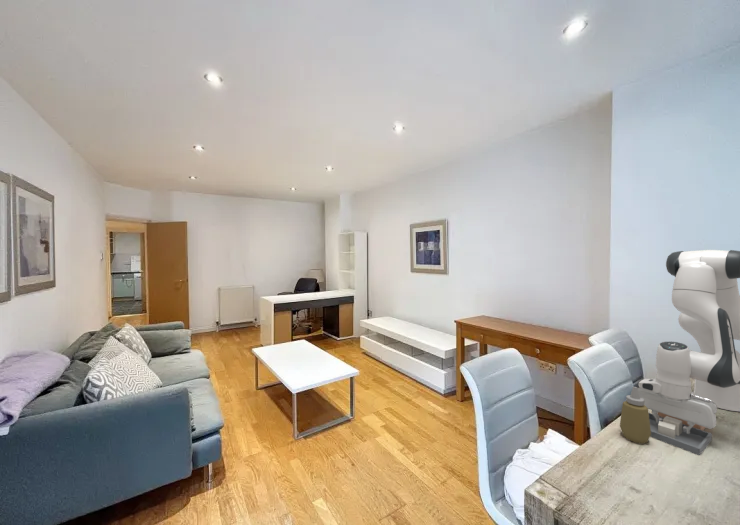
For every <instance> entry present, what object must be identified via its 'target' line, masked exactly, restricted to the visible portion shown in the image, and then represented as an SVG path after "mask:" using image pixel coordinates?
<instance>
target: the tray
mask: <svg viewBox="0 0 740 525" xmlns="http://www.w3.org/2000/svg"><path fill="white" fill-rule="evenodd" d="M659 417H660V416H659ZM660 418H662V419H664V418H663V417H660ZM649 420H650V429H651V436H650V437H649V438H652V439H655V440H658V441H660V442H663V443H665V444H669V445H671V446H673V447H676V448H679V449H682V450H684V451H687V452H690V453H692V454H694V455H697V456H701V455H702V453H703V452H704V451H705V450H706V448H707V447H708V445H709V444H710V443H711V442H712V441H713V433H712V432H708V431H705V430H700V429H697V428H694V427H692V428H691V429H690V434H686V433H683V427H684V426H686V427H688V425H685V424H682V433H681V434H680V435H679V436H677V435H675V439H673V438H671V437H668V436H665V435H662V434H660V433H658V424H657V423H656V418H655V417H654V415H653V414H652V412H649Z"/></svg>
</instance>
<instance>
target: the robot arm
mask: <svg viewBox="0 0 740 525" xmlns="http://www.w3.org/2000/svg"><path fill="white" fill-rule="evenodd" d="M665 261H666V262H665V266H666V271H667V272H668V274H670V275H671V276H674V279H673V280H674V281H673V285H672V289H671V290H672V291H671V303H672V305H673V306H674V308H675V309H676V310H677V311H679V312H680V313H679V315H678V319H677V320H678V324H679V325H680V327H681V329H683V330H684V331H685V332H687V333H688V334H689V335H690V336H692V337H693V338H694V340H695V341H696V342H697V344H698V346H699V349H700V352H699V351H695V350H691V349H689V348H690V347H688V345H686V344H685V343H682V342H678V341H662V342H660V343H659V344H658V346H657V350H656V355H655V367H656V371H657V372H656V375H655V378H643V379H642V380H640V381H639V382H638V387H637V388H638V391H639V395H640V397H641V398H643V399H644V405H645V406H646V407H647V408H648V410H651V414H653V415H654V417H655V418H656V423H657V424H659V421H662V422H663V419H662V418H660V417H659V415H658V413H659V412H660V413H663V414H666V415H669V416H672V417H675V418H679V419H682V420H685V421H687V424H688V425H689V426H688V427H686V426H684V427H683V433H686V434H690V429H691V428H692V427H693V426H694V425H695V424H697V425H700V426H703V427H706V428H705V429H710V430H711V429H714V428H715V427H716V426H717V416H716V413H717V412H718V409H722V410H727V411H732V412H740V352H739V351H738V350H736V347H735V341H734V340H736V341H740V291H739V284H738V279H740V250H733V249H730V250H722V249H720V250H719V249H703V250H700V249H699V250H687V251H685V250H684V251H683V250H680V251H674V252H671V253H670V254H669V255H668V256H667V258H666V260H665ZM691 379H693V380H694V385H693V386H694V390H693V391H692V382H691Z"/></svg>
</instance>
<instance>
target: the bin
mask: <svg viewBox="0 0 740 525" xmlns="http://www.w3.org/2000/svg"><path fill="white" fill-rule="evenodd" d="M657 414H658V415H659V416H660V417H663V418H665V417H666V416H668V417H671V418H675V417H672V416H669V415H666V414H663V413H660V412H659V413H657ZM675 419H678V420H681V421H682V424H685V425H688V424H687V421H685V420H682V419H679V418H675ZM688 426H689V425H688ZM693 427H694V428H697V429H700V430H703V431H705V429H707V428H706V427H703V426H700V425H697V424H695V425H694V426H693Z"/></svg>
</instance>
